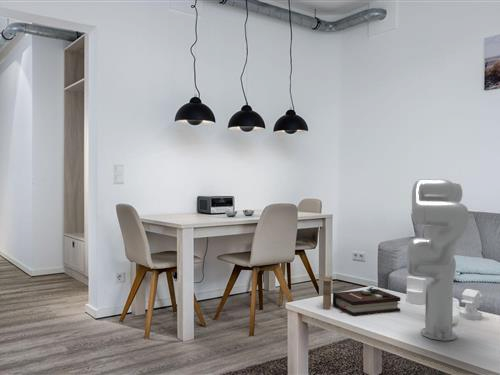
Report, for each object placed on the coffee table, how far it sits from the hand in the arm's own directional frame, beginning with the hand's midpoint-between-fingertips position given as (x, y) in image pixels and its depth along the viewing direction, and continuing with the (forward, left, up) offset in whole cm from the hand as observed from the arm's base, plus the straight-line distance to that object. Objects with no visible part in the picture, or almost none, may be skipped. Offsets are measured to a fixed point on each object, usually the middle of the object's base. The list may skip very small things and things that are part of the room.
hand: (435, 256), depth 189 cm
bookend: (+8, +46, -27) cm, 54 cm away
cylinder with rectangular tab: (+28, +4, -27) cm, 39 cm away
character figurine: (+8, -16, -27) cm, 33 cm away
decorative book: (+9, +28, -28) cm, 41 cm away
